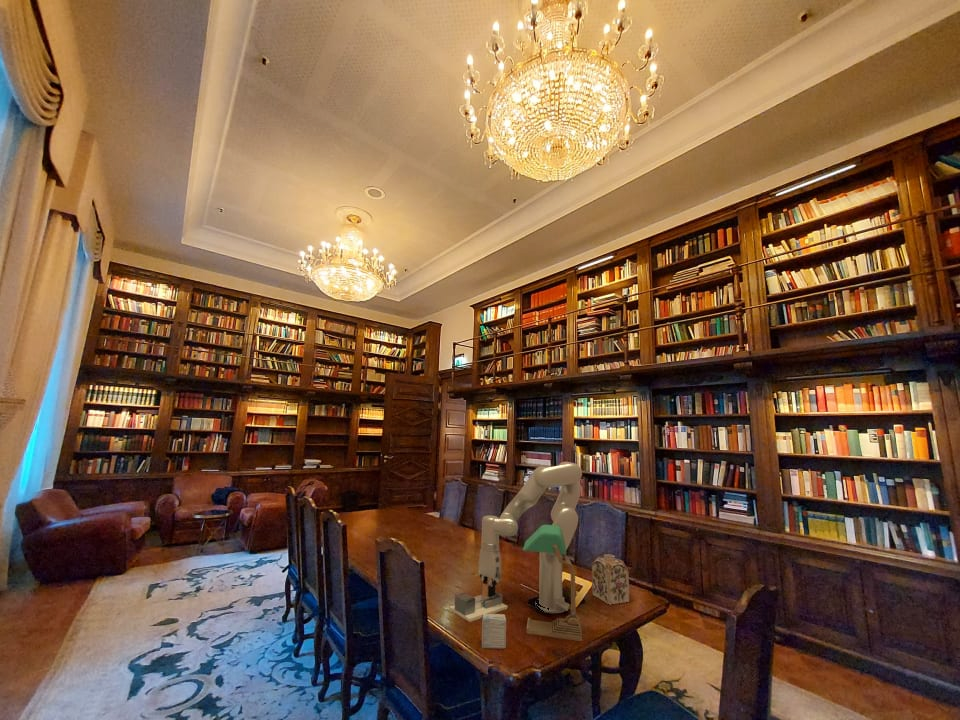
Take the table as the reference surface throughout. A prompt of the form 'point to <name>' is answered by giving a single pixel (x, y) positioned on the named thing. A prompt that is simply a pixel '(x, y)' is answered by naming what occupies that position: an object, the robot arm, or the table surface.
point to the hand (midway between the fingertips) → (488, 594)
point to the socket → (464, 604)
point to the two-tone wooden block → (483, 596)
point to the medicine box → (493, 631)
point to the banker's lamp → (570, 628)
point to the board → (484, 608)
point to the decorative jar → (610, 580)
